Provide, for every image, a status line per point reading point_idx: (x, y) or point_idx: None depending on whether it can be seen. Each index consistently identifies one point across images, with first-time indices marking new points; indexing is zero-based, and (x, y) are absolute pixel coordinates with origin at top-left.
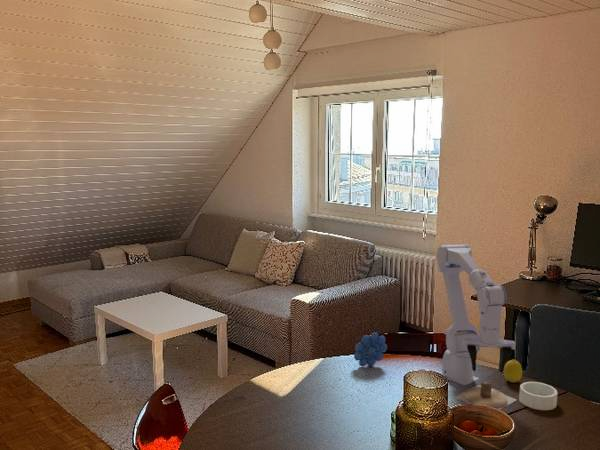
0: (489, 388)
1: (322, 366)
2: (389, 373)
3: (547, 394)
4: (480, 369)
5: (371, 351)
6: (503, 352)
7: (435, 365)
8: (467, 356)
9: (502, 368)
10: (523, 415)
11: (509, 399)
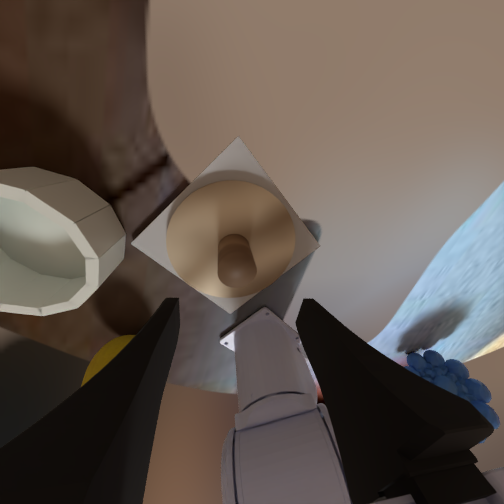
0: (229, 250)
1: (485, 340)
2: (394, 336)
3: (2, 267)
4: (202, 377)
5: (452, 382)
6: (94, 491)
7: None
8: (275, 398)
9: (161, 313)
10: (119, 136)
11: (157, 243)
